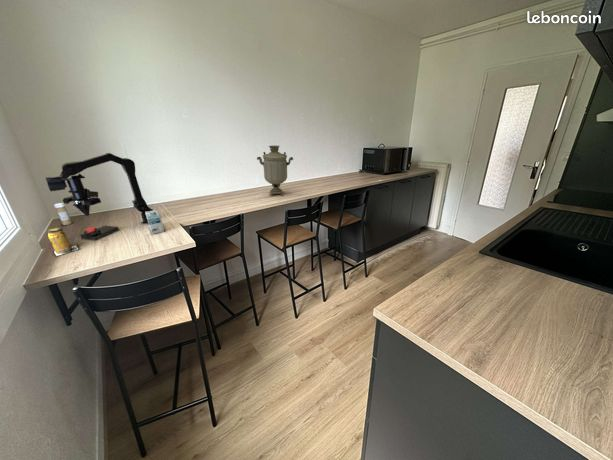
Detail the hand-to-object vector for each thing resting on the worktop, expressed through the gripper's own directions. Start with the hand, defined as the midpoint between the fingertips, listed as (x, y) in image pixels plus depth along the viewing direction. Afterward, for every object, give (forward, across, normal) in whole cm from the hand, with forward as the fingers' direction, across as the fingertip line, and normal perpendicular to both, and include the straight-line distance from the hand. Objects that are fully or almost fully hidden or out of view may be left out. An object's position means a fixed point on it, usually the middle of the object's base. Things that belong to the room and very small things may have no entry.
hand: (87, 215), depth 138 cm
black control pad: (+12, -2, -1) cm, 12 cm away
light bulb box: (+12, -30, -14) cm, 35 cm away
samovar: (+12, -74, -105) cm, 129 cm away
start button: (+8, -2, +3) cm, 9 cm away
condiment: (+12, -4, +18) cm, 22 cm away
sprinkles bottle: (+12, +34, -9) cm, 37 cm away
